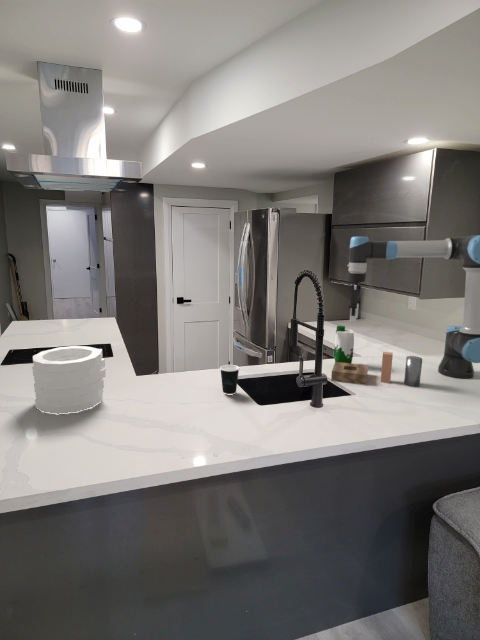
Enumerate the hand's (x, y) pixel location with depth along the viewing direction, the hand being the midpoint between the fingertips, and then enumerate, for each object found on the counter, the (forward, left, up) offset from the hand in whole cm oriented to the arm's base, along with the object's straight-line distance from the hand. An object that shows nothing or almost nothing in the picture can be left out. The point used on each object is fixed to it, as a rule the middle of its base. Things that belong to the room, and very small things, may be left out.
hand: (353, 320), depth 184 cm
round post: (-27, -1, -27) cm, 38 cm away
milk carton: (+4, -18, -27) cm, 32 cm away
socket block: (0, 0, -27) cm, 27 cm away
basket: (+97, +67, -27) cm, 122 cm away
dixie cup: (+45, +38, -27) cm, 65 cm away
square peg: (-16, -1, -27) cm, 31 cm away
